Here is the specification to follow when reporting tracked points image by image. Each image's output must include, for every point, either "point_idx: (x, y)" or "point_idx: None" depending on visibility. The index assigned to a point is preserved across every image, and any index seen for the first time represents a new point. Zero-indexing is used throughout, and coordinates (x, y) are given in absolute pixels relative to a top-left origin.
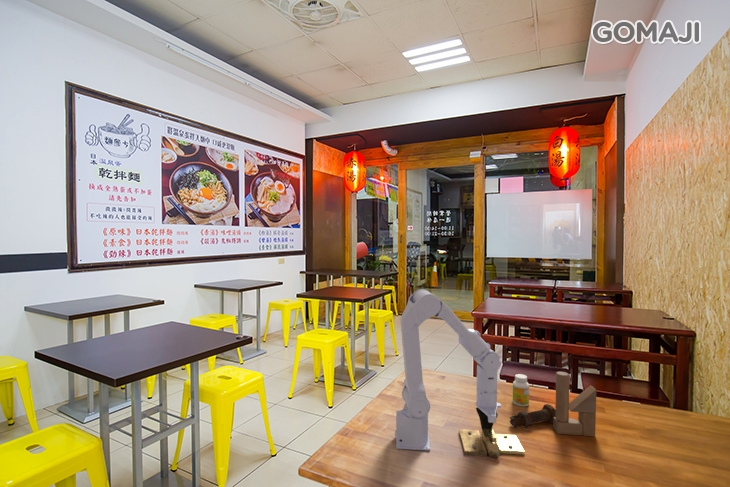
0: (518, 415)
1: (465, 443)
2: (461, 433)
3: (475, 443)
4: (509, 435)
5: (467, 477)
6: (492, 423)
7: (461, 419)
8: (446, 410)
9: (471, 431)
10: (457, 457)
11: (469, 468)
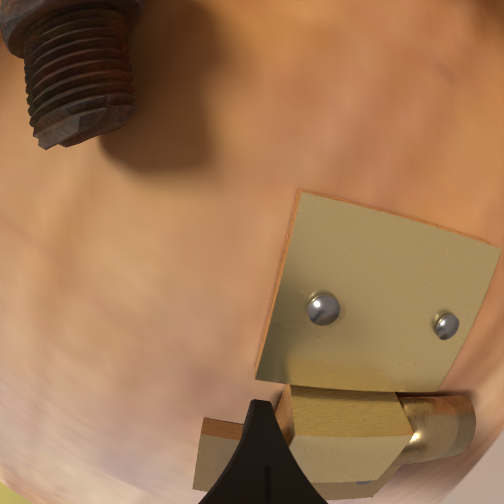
0: (42, 50)
1: (323, 494)
2: None
3: None
4: (300, 259)
5: (461, 473)
6: (305, 482)
7: (64, 418)
8: (14, 424)
9: (216, 463)
10: (373, 497)
11: (437, 473)
